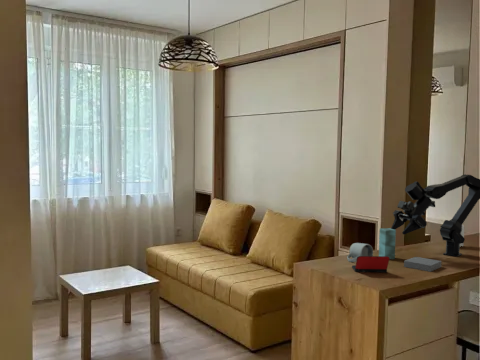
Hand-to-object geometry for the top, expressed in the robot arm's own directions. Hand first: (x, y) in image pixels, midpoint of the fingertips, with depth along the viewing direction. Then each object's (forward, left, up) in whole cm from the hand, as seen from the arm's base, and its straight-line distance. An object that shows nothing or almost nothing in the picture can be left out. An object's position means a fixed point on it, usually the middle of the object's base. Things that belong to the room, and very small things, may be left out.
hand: (397, 231), depth 207 cm
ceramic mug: (+18, -9, -12) cm, 23 cm away
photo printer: (-45, +9, -12) cm, 47 cm away
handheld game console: (+30, +4, -12) cm, 33 cm away
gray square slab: (+8, +15, -12) cm, 21 cm away
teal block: (+4, -3, -12) cm, 13 cm away
